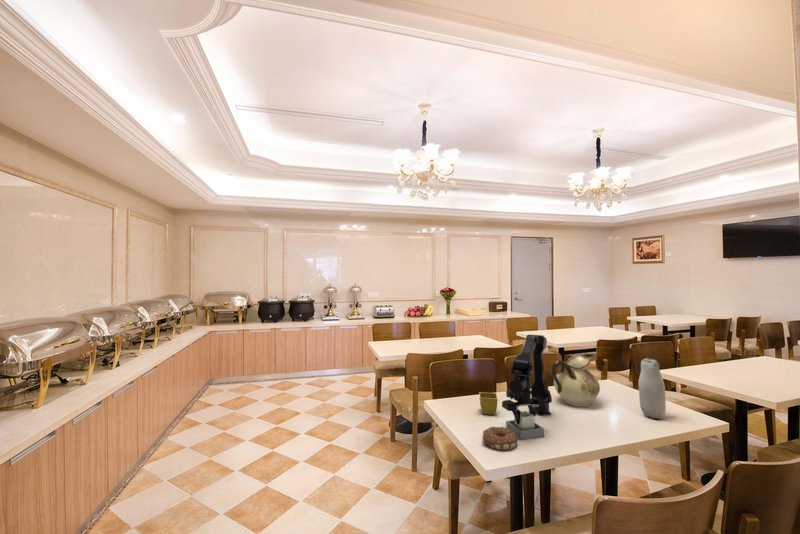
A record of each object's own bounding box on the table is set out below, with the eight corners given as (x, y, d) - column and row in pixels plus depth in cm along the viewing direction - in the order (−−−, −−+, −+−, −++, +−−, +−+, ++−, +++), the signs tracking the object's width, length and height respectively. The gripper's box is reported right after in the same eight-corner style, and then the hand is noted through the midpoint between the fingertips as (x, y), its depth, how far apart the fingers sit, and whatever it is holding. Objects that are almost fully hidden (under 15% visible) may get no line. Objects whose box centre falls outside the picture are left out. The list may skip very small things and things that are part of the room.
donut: (507, 435, 148) (507, 423, 148) (523, 450, 134) (523, 437, 135) (476, 438, 146) (475, 426, 146) (489, 453, 132) (489, 440, 132)
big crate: (528, 426, 156) (528, 418, 157) (544, 436, 145) (544, 428, 146) (506, 428, 154) (505, 421, 154) (520, 440, 143) (520, 431, 143)
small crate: (526, 422, 153) (526, 411, 154) (534, 427, 148) (534, 416, 148) (514, 423, 152) (514, 412, 152) (522, 429, 146) (522, 417, 146)
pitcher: (601, 400, 190) (598, 354, 191) (599, 414, 170) (597, 363, 171) (557, 394, 202) (555, 351, 203) (551, 406, 182) (549, 359, 183)
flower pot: (498, 417, 168) (497, 398, 168) (480, 415, 169) (479, 397, 170) (496, 410, 176) (496, 392, 177) (479, 409, 178) (479, 392, 179)
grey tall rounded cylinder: (670, 418, 164) (666, 359, 165) (659, 422, 159) (656, 362, 160) (647, 411, 172) (644, 355, 174) (636, 415, 167) (633, 358, 169)
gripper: (530, 380, 161) (531, 414, 160) (495, 384, 156) (496, 418, 155) (546, 387, 150) (547, 423, 149) (508, 391, 145) (509, 428, 145)
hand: (524, 423), depth 150 cm, fingers closed on small crate, 6 cm apart
